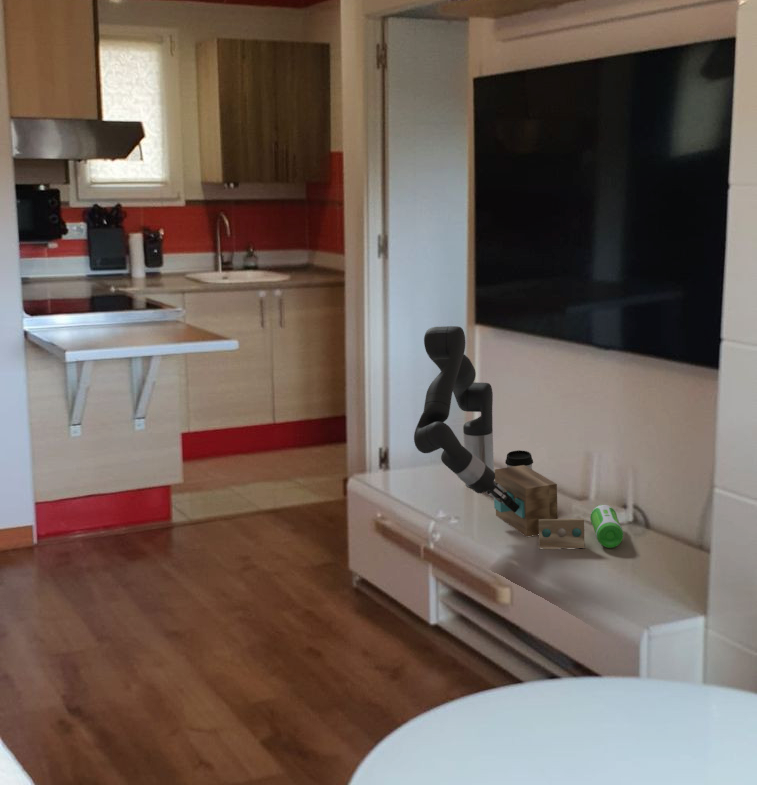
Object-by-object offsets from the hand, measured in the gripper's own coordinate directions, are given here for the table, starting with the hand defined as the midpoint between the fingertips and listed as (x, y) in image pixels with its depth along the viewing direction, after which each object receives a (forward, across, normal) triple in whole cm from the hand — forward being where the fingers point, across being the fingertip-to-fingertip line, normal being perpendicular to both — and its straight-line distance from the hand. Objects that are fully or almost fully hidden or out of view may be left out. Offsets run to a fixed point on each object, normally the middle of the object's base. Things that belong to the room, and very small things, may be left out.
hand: (516, 509), depth 325 cm
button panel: (+9, +7, +1) cm, 12 cm away
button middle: (+2, +7, +1) cm, 7 cm away
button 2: (+4, 0, -1) cm, 4 cm away
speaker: (+20, -14, -9) cm, 26 cm away
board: (+10, -14, 0) cm, 17 cm away
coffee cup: (+14, +26, -4) cm, 30 cm away
